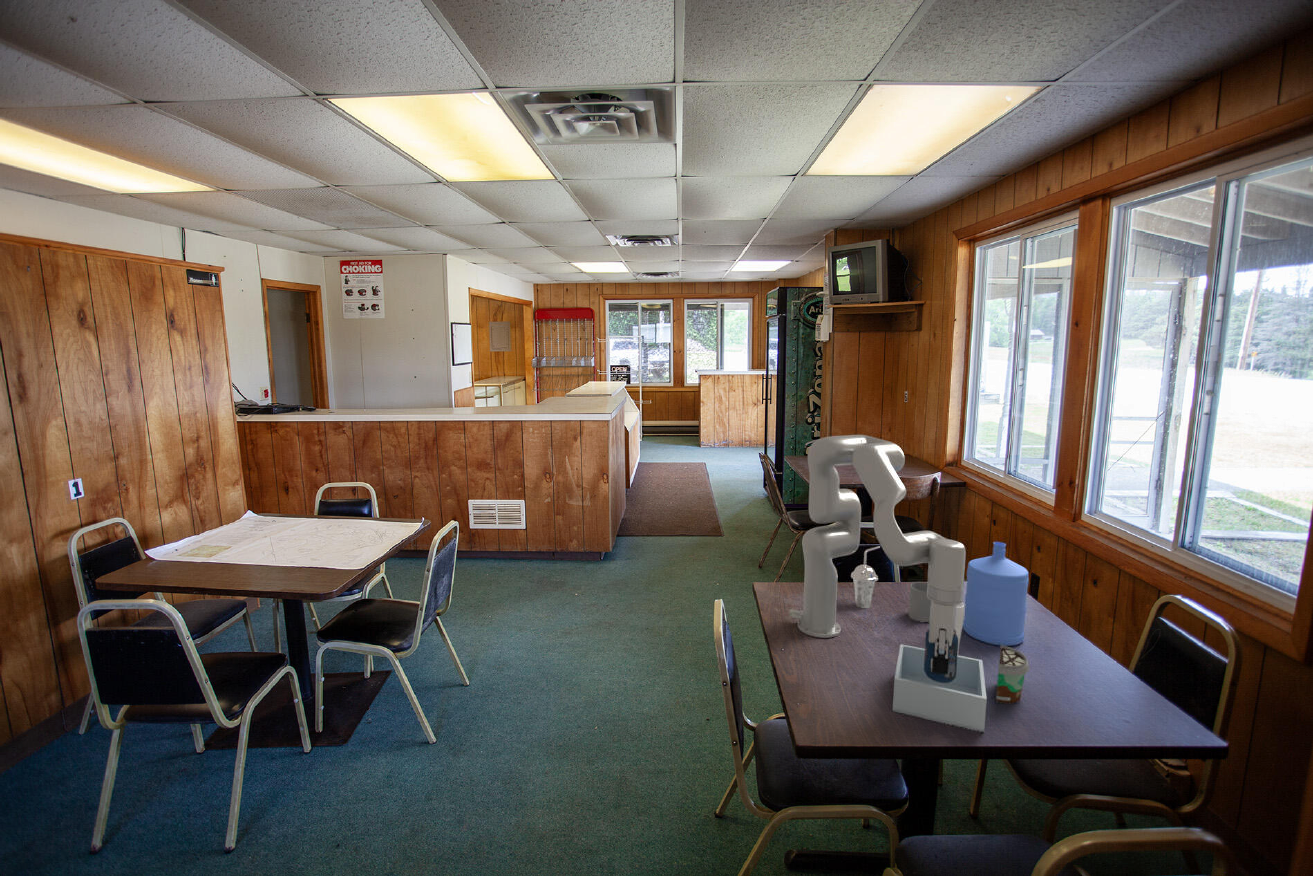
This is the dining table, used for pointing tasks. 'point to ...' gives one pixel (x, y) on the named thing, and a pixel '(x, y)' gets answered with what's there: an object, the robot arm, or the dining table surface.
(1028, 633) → the dining table surface
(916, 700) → the open storage bin
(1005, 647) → the food container
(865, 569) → the cup with straw
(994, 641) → the water jug
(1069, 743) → the dining table surface
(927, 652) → the soda can
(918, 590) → the cup
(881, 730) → the dining table surface
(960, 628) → the drinking glass
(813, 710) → the dining table surface
